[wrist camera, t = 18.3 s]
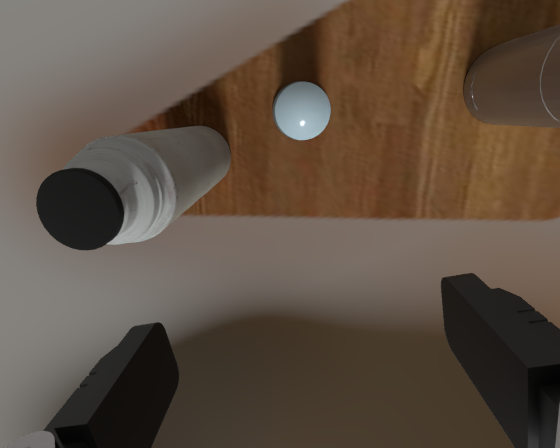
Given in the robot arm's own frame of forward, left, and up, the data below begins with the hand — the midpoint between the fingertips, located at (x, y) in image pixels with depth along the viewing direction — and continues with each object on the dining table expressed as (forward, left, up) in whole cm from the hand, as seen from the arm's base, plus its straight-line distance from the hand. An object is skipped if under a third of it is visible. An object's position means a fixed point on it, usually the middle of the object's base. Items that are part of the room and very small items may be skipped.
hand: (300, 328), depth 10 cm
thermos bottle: (+13, -3, -38) cm, 40 cm away
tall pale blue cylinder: (-1, -6, -38) cm, 38 cm away
